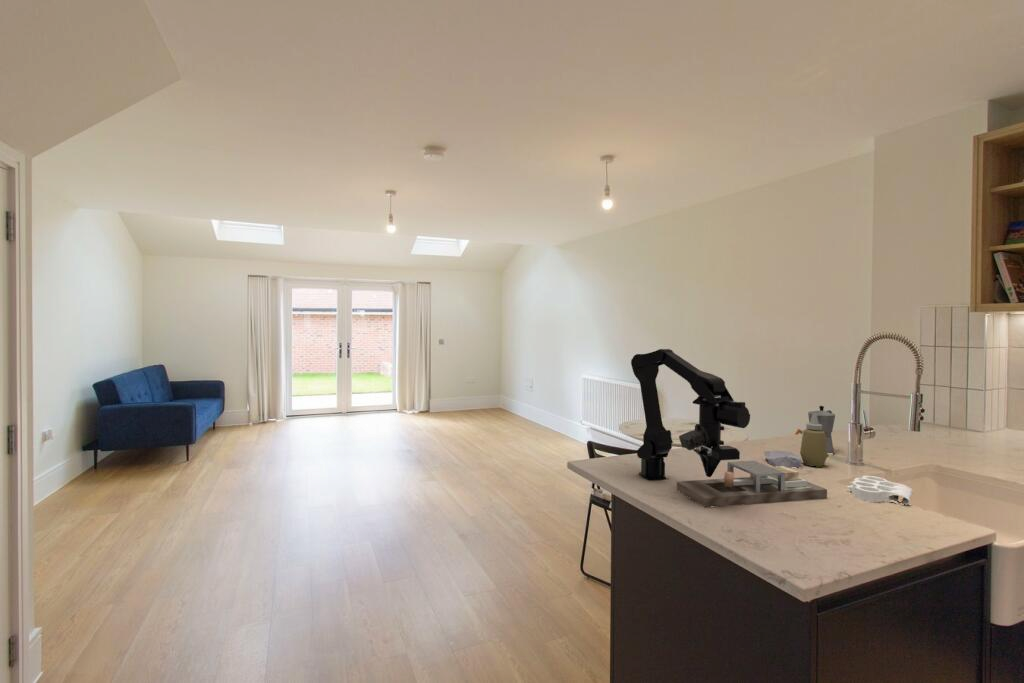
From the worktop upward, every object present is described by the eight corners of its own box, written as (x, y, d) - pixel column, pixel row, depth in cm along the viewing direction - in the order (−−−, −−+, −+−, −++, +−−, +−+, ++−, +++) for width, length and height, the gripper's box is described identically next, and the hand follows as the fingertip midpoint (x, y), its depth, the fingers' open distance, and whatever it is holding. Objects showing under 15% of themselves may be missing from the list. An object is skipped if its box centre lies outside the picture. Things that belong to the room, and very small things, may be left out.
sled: (734, 490, 132) (734, 477, 132) (716, 481, 141) (716, 468, 140) (807, 485, 137) (807, 473, 137) (784, 476, 145) (785, 464, 145)
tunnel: (756, 493, 131) (756, 474, 131) (727, 479, 144) (727, 461, 143) (784, 491, 133) (785, 472, 133) (753, 477, 145) (754, 460, 145)
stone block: (773, 472, 166) (804, 468, 164) (771, 458, 166) (802, 454, 164) (762, 464, 177) (791, 460, 176) (759, 451, 178) (788, 447, 176)
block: (780, 487, 137) (780, 473, 136) (765, 480, 142) (765, 467, 142) (798, 485, 138) (798, 472, 138) (782, 479, 144) (783, 466, 144)
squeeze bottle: (826, 464, 169) (828, 413, 169) (827, 469, 162) (828, 416, 162) (800, 460, 174) (801, 411, 173) (799, 466, 167) (800, 414, 166)
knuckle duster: (908, 511, 127) (841, 497, 137) (913, 494, 140) (852, 483, 150) (908, 498, 127) (841, 485, 137) (913, 483, 140) (852, 472, 150)
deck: (704, 507, 128) (705, 498, 127) (676, 489, 141) (676, 481, 141) (826, 498, 135) (827, 489, 135) (788, 482, 149) (789, 474, 149)
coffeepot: (826, 457, 178) (827, 409, 177) (799, 452, 186) (800, 405, 185) (843, 451, 187) (845, 405, 186) (817, 446, 195) (818, 402, 194)
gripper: (666, 416, 143) (665, 468, 143) (703, 429, 125) (702, 489, 125) (700, 415, 145) (699, 466, 146) (741, 428, 127) (740, 486, 127)
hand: (708, 476), depth 136 cm, fingers closed
